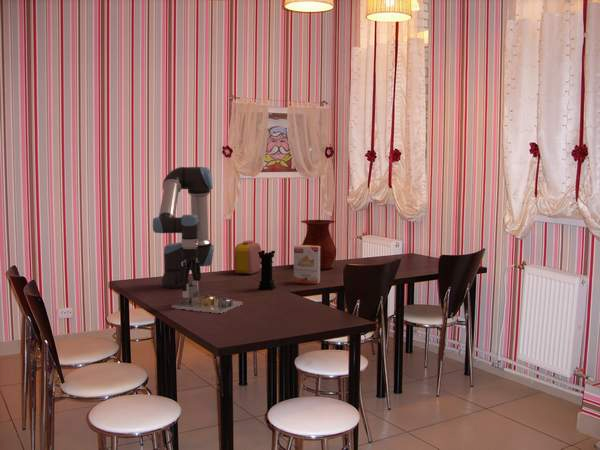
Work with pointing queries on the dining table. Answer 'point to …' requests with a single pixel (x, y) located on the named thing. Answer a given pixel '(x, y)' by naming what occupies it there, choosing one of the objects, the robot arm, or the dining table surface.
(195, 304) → the carrier
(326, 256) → the vase
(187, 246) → the robot arm
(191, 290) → the gear
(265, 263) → the chess piece
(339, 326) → the dining table surface
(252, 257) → the lunch box
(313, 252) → the cracker box
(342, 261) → the dining table surface
